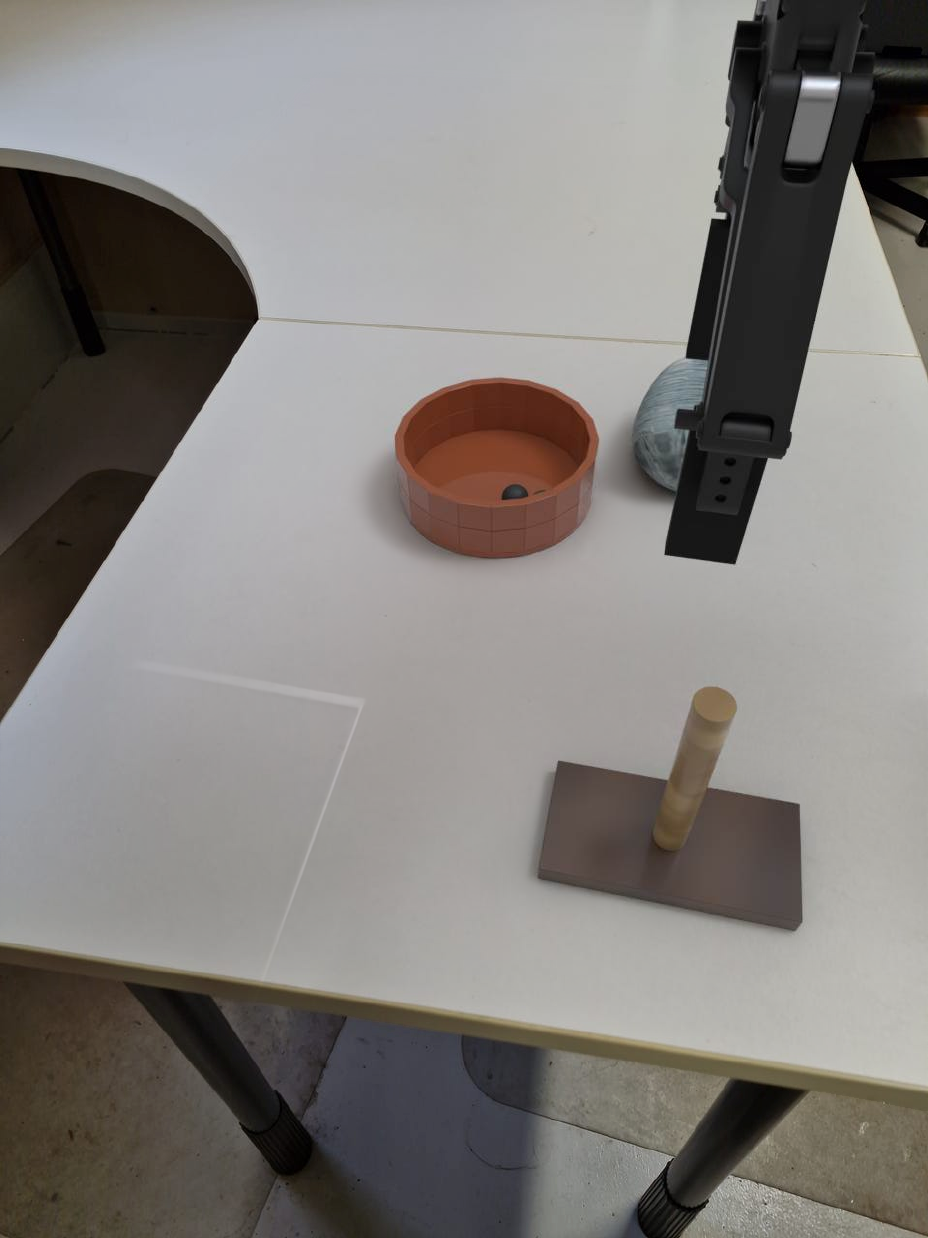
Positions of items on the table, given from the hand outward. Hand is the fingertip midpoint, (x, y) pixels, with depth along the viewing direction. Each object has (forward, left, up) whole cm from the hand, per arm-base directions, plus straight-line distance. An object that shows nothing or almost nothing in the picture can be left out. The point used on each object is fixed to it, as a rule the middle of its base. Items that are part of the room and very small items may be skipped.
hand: (707, 444), depth 38 cm
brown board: (-3, +5, -29) cm, 29 cm away
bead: (+13, -24, -27) cm, 38 cm away
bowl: (+15, -27, -29) cm, 42 cm away
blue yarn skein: (-1, -35, -29) cm, 45 cm away
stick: (-3, +5, -27) cm, 28 cm away
